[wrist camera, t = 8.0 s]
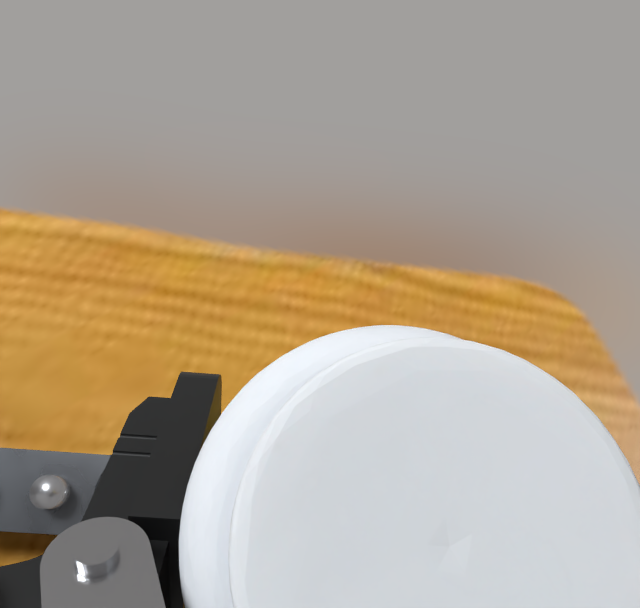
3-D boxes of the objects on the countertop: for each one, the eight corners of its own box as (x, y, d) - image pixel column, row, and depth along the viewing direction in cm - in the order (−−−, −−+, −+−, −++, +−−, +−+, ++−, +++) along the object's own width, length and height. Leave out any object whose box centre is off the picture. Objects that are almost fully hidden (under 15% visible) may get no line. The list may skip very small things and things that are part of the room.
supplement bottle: (189, 466, 15) (39, 393, 6) (385, 372, 16) (544, 177, 7) (284, 696, 14) (302, 1135, 4) (491, 577, 15) (890, 705, 5)
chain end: (-70, 537, 24) (-109, 541, 22) (-45, 434, 26) (-79, 427, 23) (197, 553, 25) (188, 559, 22) (209, 451, 26) (202, 446, 24)
